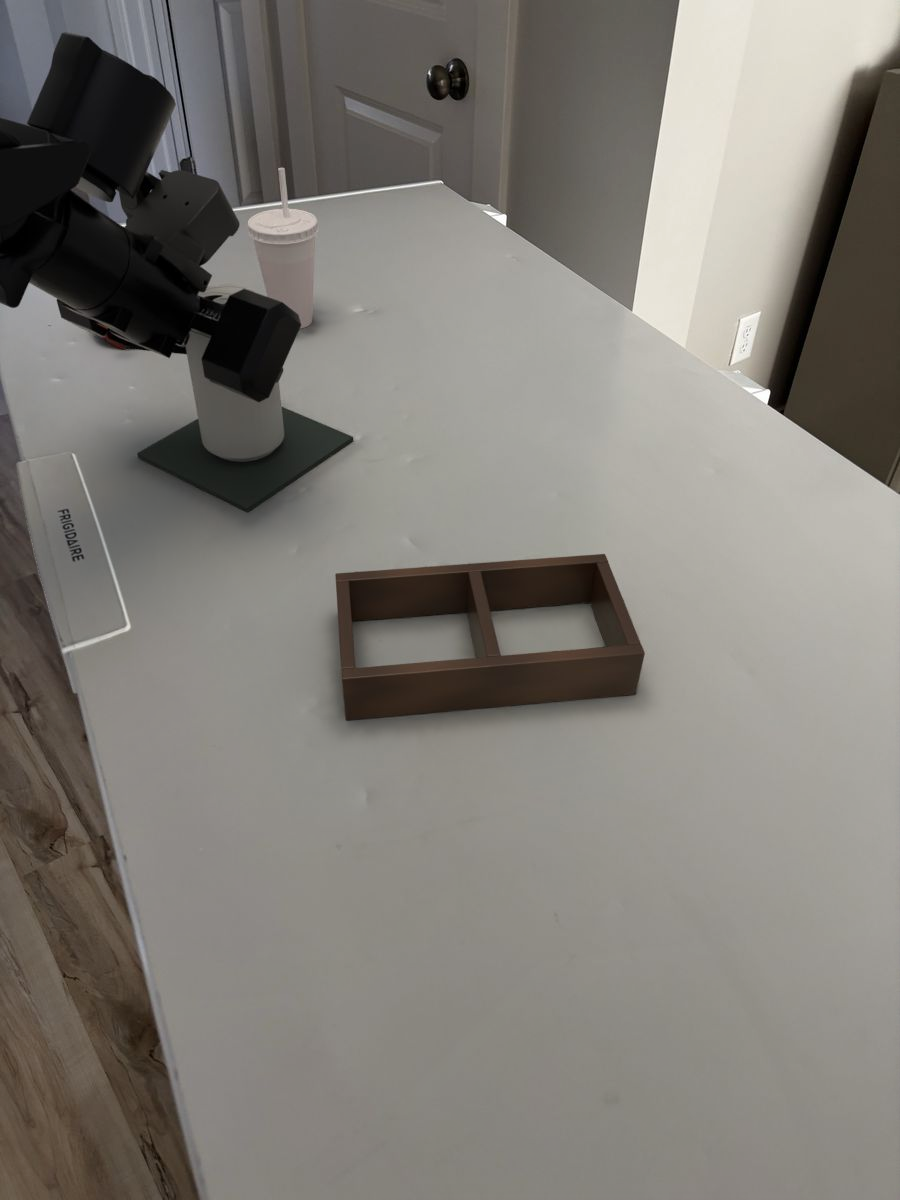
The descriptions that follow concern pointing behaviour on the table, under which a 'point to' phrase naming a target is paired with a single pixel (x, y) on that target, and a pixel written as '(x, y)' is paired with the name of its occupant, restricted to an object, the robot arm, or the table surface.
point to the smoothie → (287, 254)
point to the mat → (250, 478)
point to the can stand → (487, 636)
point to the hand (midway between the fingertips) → (246, 362)
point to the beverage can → (232, 403)
